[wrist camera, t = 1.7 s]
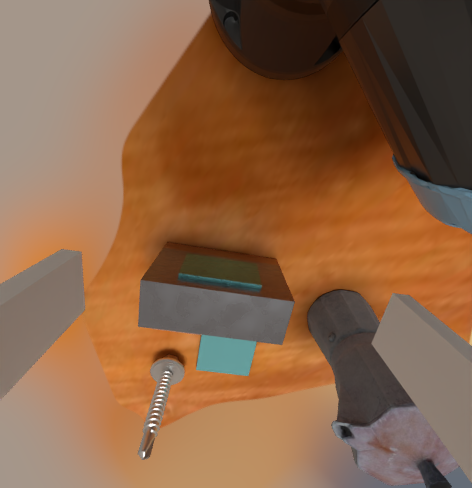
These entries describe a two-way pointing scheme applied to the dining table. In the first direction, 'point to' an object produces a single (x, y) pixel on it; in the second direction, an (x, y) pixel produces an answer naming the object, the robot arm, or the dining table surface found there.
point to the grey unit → (215, 294)
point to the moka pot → (375, 398)
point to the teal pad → (225, 355)
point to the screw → (159, 398)
